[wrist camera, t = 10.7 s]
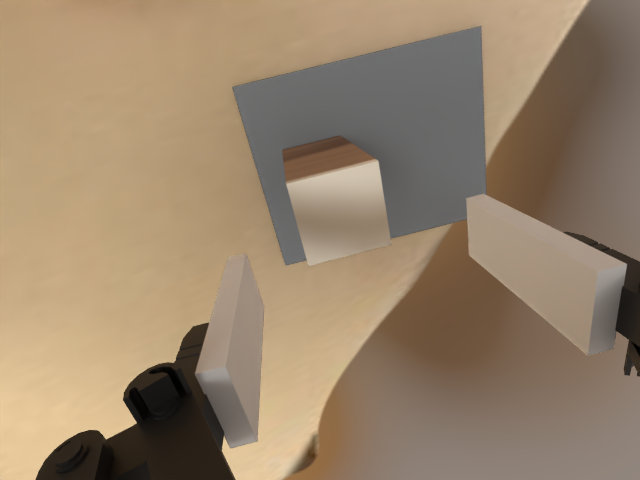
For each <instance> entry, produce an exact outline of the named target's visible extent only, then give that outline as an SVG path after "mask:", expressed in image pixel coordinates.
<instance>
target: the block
mask: <svg viewBox="0 0 640 480" xmlns="http://www.w3.org/2000/svg"><path fill="white" fill-rule="evenodd" d="M282 153H283V162H284V170H285V178H286V185H287V189H288V193H289V196H290V200H291V204H292V207H293V211H294V215H295V218H296V222H297V226H298V230H299V233H300V237H301V241H302V244H303V248H304V252H305V256H306V259H307V263H308V266H311V265H315V264H319V263H323V262H326V261H330V260H334V259H338V258H342V257H346V256H350V255H354V254H358V253H362V252H366V251H369V250H373V249H377V248H381V247H385V246H389V245H391V239H390V232H389V226H388V219H387V213H386V207H385V200H384V194H383V187H382V181H381V174H380V168H379V162H378V160H376V159H375V158H373V157H372V156H370V155H369V154H367V153H366V152H364V151H363V150H361V149H360V148H358V147H357V146H355V145H354V144H352V143H351V142H349V141H348V140H346V139H345V138H343V137H342V136H340V135H339V136H335V137H331V138H327V139H323V140H319V141H315V142H311V143H307V144H303V145H299V146H295V147H291V148H287V149H283V150H282Z"/></svg>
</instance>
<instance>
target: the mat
mask: <svg viewBox="0 0 640 480" xmlns="http://www.w3.org/2000/svg"><path fill="white" fill-rule="evenodd" d="M232 88H233V91H234V95H235V98H236V101H237V105H238V108H239V111H240V115H241V118H242V121H243V125H244V128H245V131H246V135H247V138H248V141H249V145H250V148H251V151H252V155H253V158H254V161H255V165H256V168H257V171H258V175H259V178H260V181H261V185H262V188H263V192H264V195H265V198H266V202H267V205H268V208H269V212H270V215H271V218H272V222H273V225H274V228H275V232H276V235H277V238H278V242H279V245H280V248H281V252H282V255H283V258H284V262H285V265H290V264H294V263H298V262H301V261H305V260H307V259H306V256H305V252H304V248H303V244H302V241H301V237H300V233H299V230H298V226H297V222H296V218H295V215H294V211H293V207H292V204H291V200H290V196H289V193H288V189H287V185H286V178H285V170H284V162H283V153H282V150H283V149H287V148H291V147H295V146H299V145H303V144H307V143H311V142H315V141H319V140H323V139H327V138H331V137H335V136H339V135H340V136H342V137H343V138H345V139H346V140H348V141H349V142H351V143H352V144H354V145H355V146H357V147H358V148H360V149H361V150H363V151H364V152H366V153H367V154H369V155H370V156H372V157H373V158H375V159H376V160H378V162H379V168H380V174H381V181H382V187H383V194H384V200H385V207H386V213H387V219H388V226H389V232H390V239H391V238H395V237H399V236H403V235H407V234H411V233H415V232H419V231H423V230H426V229H430V228H434V227H438V226H442V225H446V224H450V223H454V222H458V221H462V220H465V219H467V204H466V198H469V197H473V196H477V195H481V194H485V195H486V164H485V132H484V101H483V69H482V37H481V26H479V27H475V28H471V29H467V30H463V31H459V32H455V33H451V34H447V35H442V36H438V37H434V38H430V39H426V40H422V41H418V42H414V43H410V44H406V45H402V46H398V47H393V48H389V49H385V50H381V51H377V52H373V53H369V54H365V55H361V56H357V57H353V58H349V59H344V60H340V61H336V62H332V63H328V64H324V65H320V66H316V67H312V68H308V69H304V70H300V71H295V72H291V73H287V74H283V75H279V76H275V77H271V78H267V79H263V80H259V81H255V82H251V83H246V84H242V85H238V86H234V87H232Z"/></svg>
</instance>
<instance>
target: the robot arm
mask: <svg viewBox="0 0 640 480" xmlns="http://www.w3.org/2000/svg"><path fill="white" fill-rule="evenodd" d="M466 204H467V223H468V245H469V256H470V257H472V258H473V259H474V260H475V261H476V262H477V263H479V264H480V265H481V266H482V267H483V268H485V269H486V270H487V271H488V272H489V273H491V274H492V275H493V276H494V277H495V278H496V279H498V280H499V281H500V282H501V283H502V284H504V285H505V286H506V287H507V288H508V289H509V290H511V291H512V292H513V293H514V294H515V295H517V296H518V297H519V298H520V299H522V300H523V301H524V302H525V303H526V304H527V305H529V306H530V307H531V308H532V309H533V310H534V311H536V312H537V313H538V314H539V315H540V316H542V317H543V318H544V319H545V320H546V321H547V322H549V323H550V324H551V325H552V326H553V327H555V328H556V329H557V330H558V331H559V332H561V333H562V334H563V335H564V336H565V337H566V338H568V339H569V340H570V341H571V342H572V343H573V344H575V345H576V346H577V347H578V348H579V349H581V350H582V351H583V352H584V353H585V354H587V355H592V354H596V353H600V352H603V351H607V350H611V349H614V344H615V338H616V331H617V332H619V333H620V334H622V335H623V336H625V337H626V338H627V339H629V343H628V349H627V354H626V360H625V365H624V374H625V375H630V371H631V368H632V367H633V366H635V368H636V370H637V371H638V372H637V376H640V262H639V261H637V260H635V259H633V258H630V257H628V256H626V255H624V254H622V253H620V252H617V251H615V250H613V249H611V250H610V248H609V247H607V246H605V245H603V244H598V242H596V241H594V240H592V239H589V238H588V237H585V236H583V235H578V234H574V233H570V232H563V233H562V232H560V231H558V230H556V229H554V228H552V227H550V226H548V225H546V224H544V223H542V222H540V221H537V220H536V219H534V218H532V217H530V216H528V215H526V214H524V213H522V212H520V211H518V210H516V209H513V208H511V207H509V206H507V205H505V204H503V203H501V202H499V201H497V200H495V199H493V198H491V197H489V196H487V195H485V194H481V195H477V196H473V197H469V198H466ZM263 321H264V305H263V302H262V299H261V296H260V293H259V290H258V287H257V284H256V281H255V278H254V275H253V272H252V269H251V266H250V263H249V260H248V257H247V254H246V253H243V254H239V255H235V256H231V257H228V259H227V262H226V266H225V269H224V273H223V276H222V280H221V284H220V287H219V291H218V294H217V298H216V301H215V305H214V308H213V312H212V315H211V319H210V322H209V323H205V324H201V325H197V326H193V327H192V329H191V330H190V331H189V332H188V333H187V334H186V336H185V337H184V338H183V341H182V343H181V346H180V349H179V350H180V351H178V354H177V357H176V361H175V362H174V363H169V362H167V363H162V364H158V365H155V366H153V367H151V368H148V369H147V370H145V371H144V372H142V373H141V374H139V375H138V376H137V377H136V378H135V379H134V380H133V381H132V382H131V383H130V384H129V385H128V387H127V389H126V390H125V392H124V397H123V401H124V402H125V404H126V406H127V407H128V409H129V410H130V412H131V414H132V415H133V417H134V419H135V420H136V422H137V424H135V425H134V426H132V427H130V428H128V429H126V430H124V431H122V432H120V433H118V434H116V435H114V436H112V437H110V438H108V439H107V440H106V439H105V438H104V436H103V435H102V434H101V433H100V432H99V431H97V430H88V431H85V432H81V433H78V434H77V435H75V436H73V437H71V438H69V439H67V440H66V441H65V442H63V443H62V444H61V445H60V446H58V447H57V448H56V449H55V450H54V451H53V452H52V453H51V454H50V455H49V457H48V458H47V459H46V460H45V461H44V463H43V465H42V467H41V468H40V470H39V472H38V475H37V477H36V480H235V478H234V476H233V473H232V471H231V469H230V467H229V465H228V463H227V461H226V459H225V457H224V455H223V453H222V444H223V438H224V437H225V439H226V441H227V443H228V445H229V447H230V448H234V447H238V446H242V445H246V444H249V443H253V442H257V440H258V420H259V400H260V381H261V361H262V341H263Z"/></svg>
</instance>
